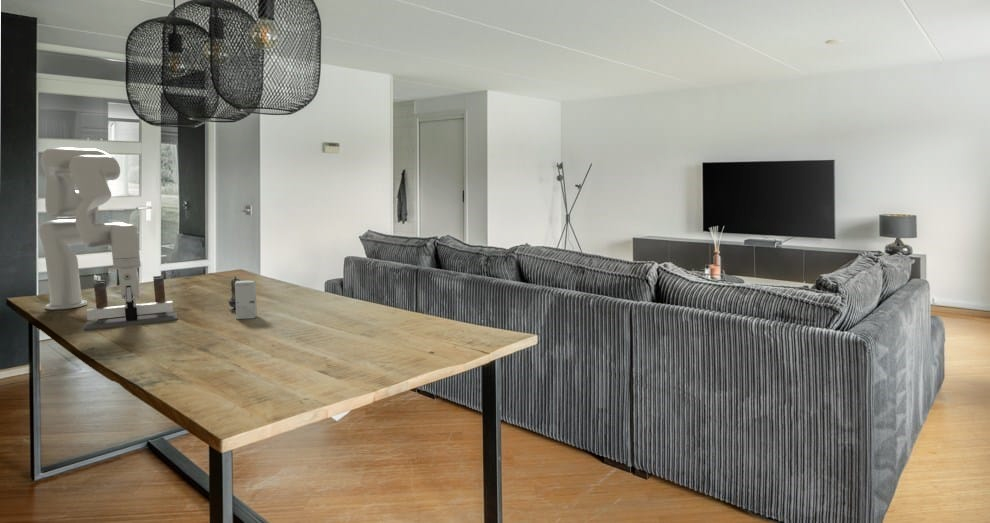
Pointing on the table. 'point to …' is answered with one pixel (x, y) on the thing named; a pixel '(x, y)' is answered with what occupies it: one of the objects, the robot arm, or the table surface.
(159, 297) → the rack
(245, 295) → the skincare box
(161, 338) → the table surface
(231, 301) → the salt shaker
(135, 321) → the mat
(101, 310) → the rail
